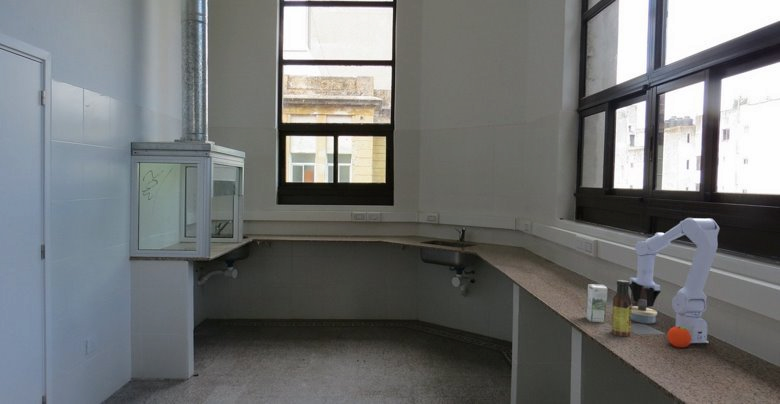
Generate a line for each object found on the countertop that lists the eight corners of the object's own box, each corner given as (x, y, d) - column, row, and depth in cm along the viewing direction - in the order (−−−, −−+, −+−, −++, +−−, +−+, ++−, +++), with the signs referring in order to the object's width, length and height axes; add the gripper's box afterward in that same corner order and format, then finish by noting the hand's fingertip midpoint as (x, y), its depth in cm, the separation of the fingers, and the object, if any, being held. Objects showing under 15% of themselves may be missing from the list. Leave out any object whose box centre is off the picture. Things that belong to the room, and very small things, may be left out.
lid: (662, 316, 175) (663, 304, 175) (635, 315, 176) (635, 302, 176) (648, 309, 186) (649, 297, 186) (622, 307, 186) (623, 296, 186)
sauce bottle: (632, 338, 158) (636, 283, 158) (613, 336, 160) (617, 282, 159) (626, 332, 165) (630, 279, 164) (608, 330, 166) (612, 278, 165)
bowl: (660, 324, 177) (660, 315, 177) (640, 324, 176) (640, 315, 176) (643, 317, 186) (644, 308, 186) (624, 317, 185) (625, 309, 184)
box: (636, 312, 193) (638, 285, 193) (629, 309, 198) (631, 282, 197) (648, 312, 194) (650, 285, 193) (641, 309, 198) (643, 282, 198)
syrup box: (600, 319, 181) (602, 284, 180) (605, 323, 175) (607, 287, 174) (585, 318, 181) (587, 283, 181) (590, 322, 175) (592, 286, 175)
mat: (666, 335, 164) (666, 333, 164) (637, 335, 162) (637, 334, 162) (642, 324, 176) (642, 323, 176) (615, 325, 174) (615, 324, 174)
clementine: (690, 345, 153) (692, 325, 153) (697, 352, 147) (698, 331, 147) (664, 342, 156) (665, 322, 156) (669, 348, 150) (670, 327, 149)
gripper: (667, 274, 174) (665, 308, 174) (641, 267, 188) (639, 298, 188) (651, 274, 172) (649, 308, 173) (626, 267, 187) (624, 299, 187)
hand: (643, 303), depth 181 cm, fingers open, 7 cm apart
